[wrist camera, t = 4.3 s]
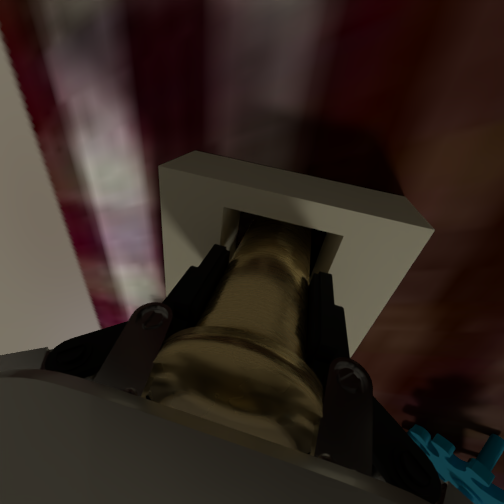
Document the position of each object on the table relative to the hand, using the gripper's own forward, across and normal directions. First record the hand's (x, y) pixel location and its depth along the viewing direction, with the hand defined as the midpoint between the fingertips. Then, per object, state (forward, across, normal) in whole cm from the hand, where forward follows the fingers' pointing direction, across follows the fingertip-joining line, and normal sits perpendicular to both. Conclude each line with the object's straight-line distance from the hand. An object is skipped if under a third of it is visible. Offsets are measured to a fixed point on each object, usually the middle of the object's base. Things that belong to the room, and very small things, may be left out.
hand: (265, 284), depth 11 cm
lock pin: (+5, 0, 0) cm, 5 cm away
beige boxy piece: (+5, 0, +3) cm, 6 cm away
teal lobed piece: (+6, -20, +17) cm, 27 cm away
